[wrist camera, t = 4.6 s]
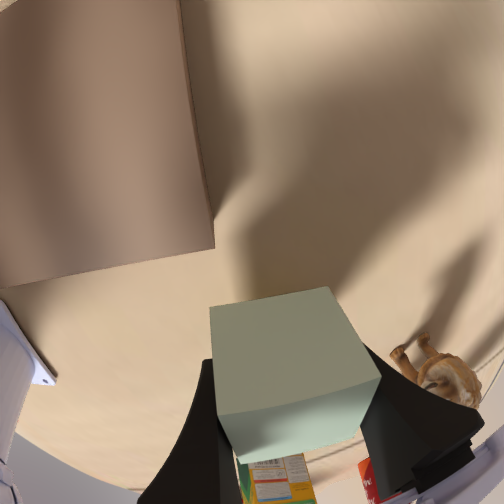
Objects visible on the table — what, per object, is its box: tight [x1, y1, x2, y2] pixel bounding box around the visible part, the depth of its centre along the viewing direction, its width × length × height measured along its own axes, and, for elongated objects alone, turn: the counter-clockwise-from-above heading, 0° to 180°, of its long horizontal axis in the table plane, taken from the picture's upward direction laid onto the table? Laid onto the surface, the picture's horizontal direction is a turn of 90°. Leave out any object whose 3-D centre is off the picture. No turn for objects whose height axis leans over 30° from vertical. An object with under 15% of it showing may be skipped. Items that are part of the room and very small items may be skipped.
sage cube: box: [209, 286, 382, 464], centre depth 11 cm, size 5×5×5 cm
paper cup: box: [358, 457, 413, 504], centre depth 31 cm, size 8×8×14 cm
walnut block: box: [0, 0, 215, 289], centre depth 8 cm, size 12×12×3 cm
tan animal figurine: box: [390, 333, 482, 410], centre depth 17 cm, size 15×5×9 cm, turn 15°
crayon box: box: [236, 453, 317, 504], centre depth 21 cm, size 7×3×12 cm, turn 65°
